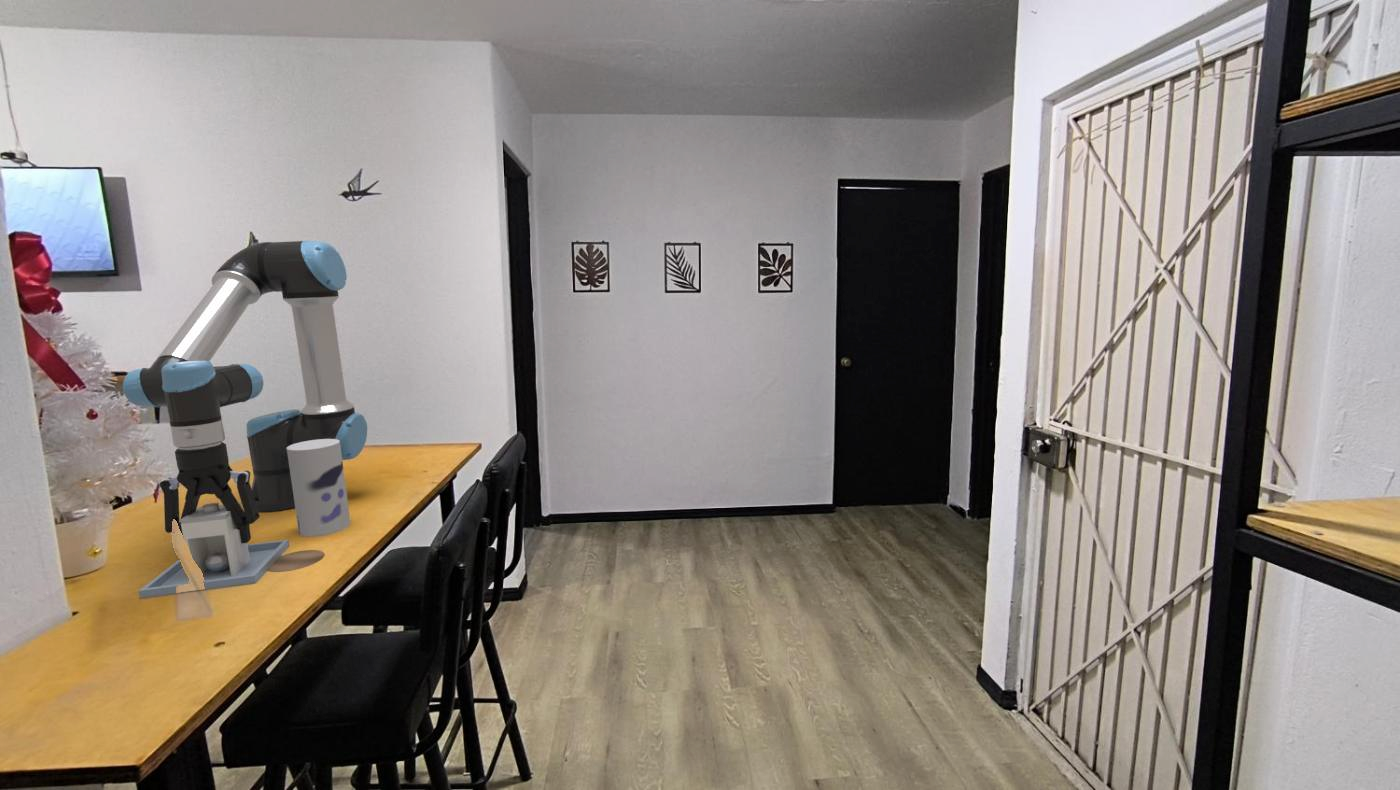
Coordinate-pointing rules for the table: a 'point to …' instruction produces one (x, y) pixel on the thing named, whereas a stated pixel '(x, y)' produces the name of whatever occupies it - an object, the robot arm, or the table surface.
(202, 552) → the open-front grey box
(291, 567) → the coaster
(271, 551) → the tray
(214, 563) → the ball
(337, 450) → the container
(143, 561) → the table surface
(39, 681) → the table surface
